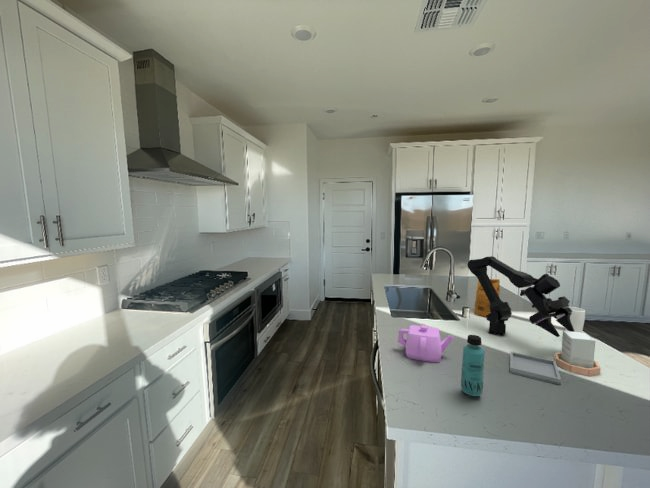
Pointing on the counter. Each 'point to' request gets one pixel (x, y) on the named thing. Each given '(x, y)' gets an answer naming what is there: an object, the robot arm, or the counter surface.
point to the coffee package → (484, 298)
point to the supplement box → (578, 349)
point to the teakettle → (423, 343)
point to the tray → (534, 367)
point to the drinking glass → (577, 319)
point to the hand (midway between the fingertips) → (566, 334)
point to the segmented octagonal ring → (576, 369)
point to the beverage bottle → (472, 366)
